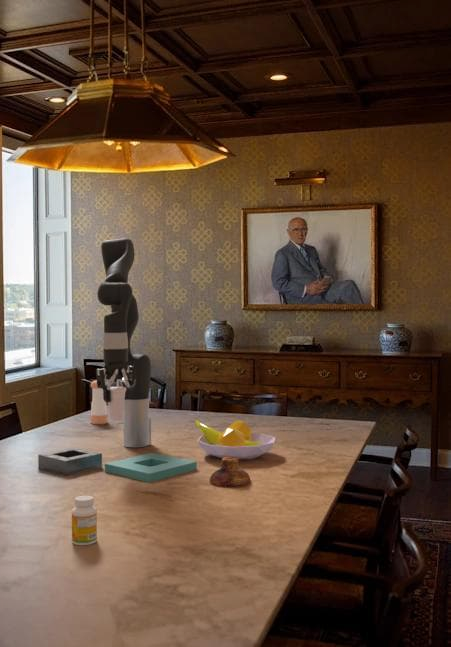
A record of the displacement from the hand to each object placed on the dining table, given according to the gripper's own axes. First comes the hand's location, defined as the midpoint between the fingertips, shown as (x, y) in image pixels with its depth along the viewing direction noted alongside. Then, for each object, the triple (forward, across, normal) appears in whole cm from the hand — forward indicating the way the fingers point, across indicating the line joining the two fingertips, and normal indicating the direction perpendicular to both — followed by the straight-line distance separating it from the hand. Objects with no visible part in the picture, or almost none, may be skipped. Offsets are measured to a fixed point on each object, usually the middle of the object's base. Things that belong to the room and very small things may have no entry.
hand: (116, 400), depth 220 cm
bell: (+22, -12, +36) cm, 44 cm away
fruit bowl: (+22, -39, +14) cm, 47 cm away
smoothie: (+6, 0, 0) cm, 6 cm away
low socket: (+22, -6, +9) cm, 24 cm away
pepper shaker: (+22, -49, -72) cm, 90 cm away
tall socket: (+22, +8, -12) cm, 26 cm away
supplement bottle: (+22, +47, +47) cm, 69 cm away
